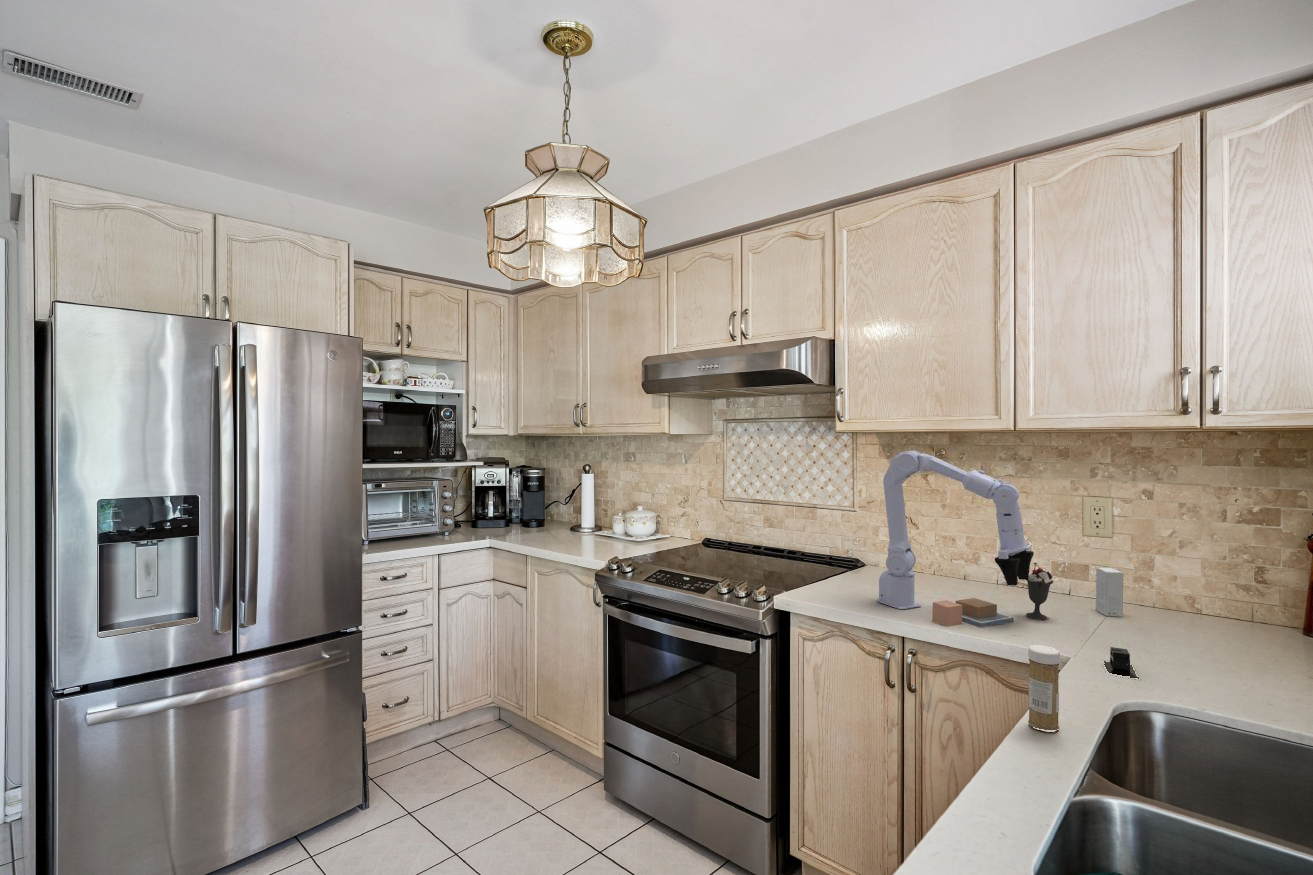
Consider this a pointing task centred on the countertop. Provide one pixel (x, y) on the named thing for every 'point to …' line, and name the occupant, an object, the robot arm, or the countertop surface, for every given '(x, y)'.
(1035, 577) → the sundae
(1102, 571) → the skincare box
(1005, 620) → the blueprint board
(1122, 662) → the black blocky piece
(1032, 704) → the sprinkles bottle
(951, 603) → the terracotta block
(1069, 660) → the countertop surface
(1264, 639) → the countertop surface
